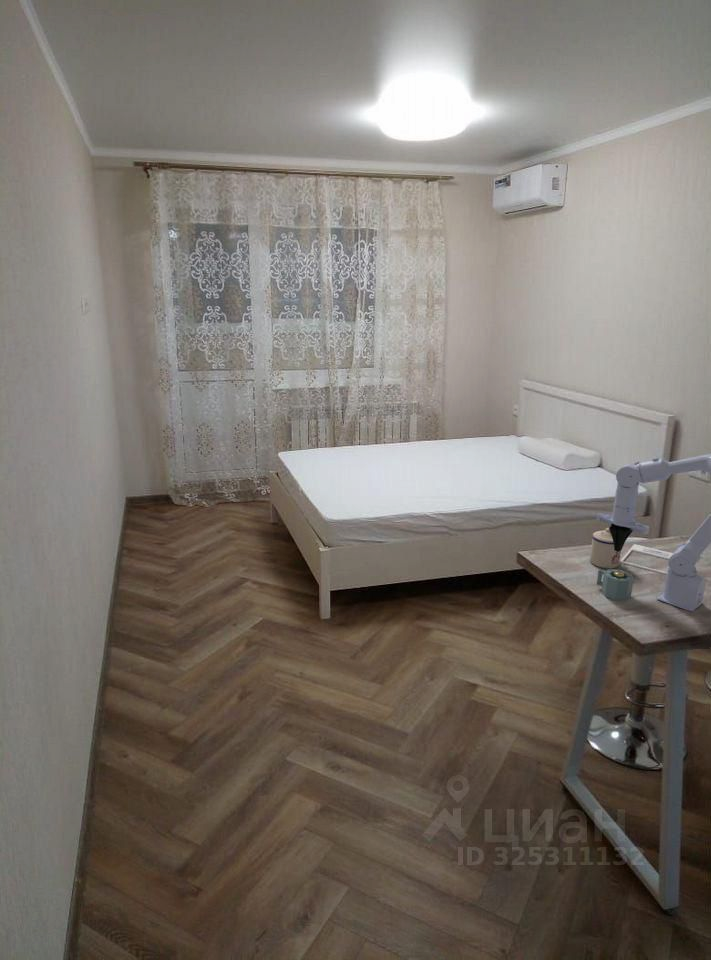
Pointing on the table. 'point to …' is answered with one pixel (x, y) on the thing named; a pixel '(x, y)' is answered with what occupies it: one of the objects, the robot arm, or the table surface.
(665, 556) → the photo frame
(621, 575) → the plunger
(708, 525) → the robot arm
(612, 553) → the teacup with lid
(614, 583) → the tea press body
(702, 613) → the table surface
